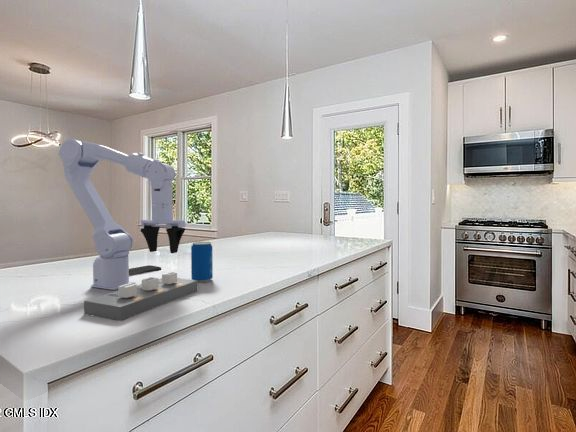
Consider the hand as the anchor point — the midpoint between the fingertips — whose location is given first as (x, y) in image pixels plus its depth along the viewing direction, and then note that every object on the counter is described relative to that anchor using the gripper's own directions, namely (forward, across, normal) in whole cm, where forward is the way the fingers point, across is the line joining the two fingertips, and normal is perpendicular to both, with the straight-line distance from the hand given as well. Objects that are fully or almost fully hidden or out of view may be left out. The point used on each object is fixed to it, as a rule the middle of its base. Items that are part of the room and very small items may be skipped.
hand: (163, 252), depth 100 cm
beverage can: (+11, +4, +12) cm, 17 cm away
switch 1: (+7, +7, -19) cm, 21 cm away
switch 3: (+7, +7, -5) cm, 11 cm away
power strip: (+10, +6, -10) cm, 15 cm away
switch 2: (+7, +6, -12) cm, 15 cm away
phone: (+11, -24, +14) cm, 30 cm away
